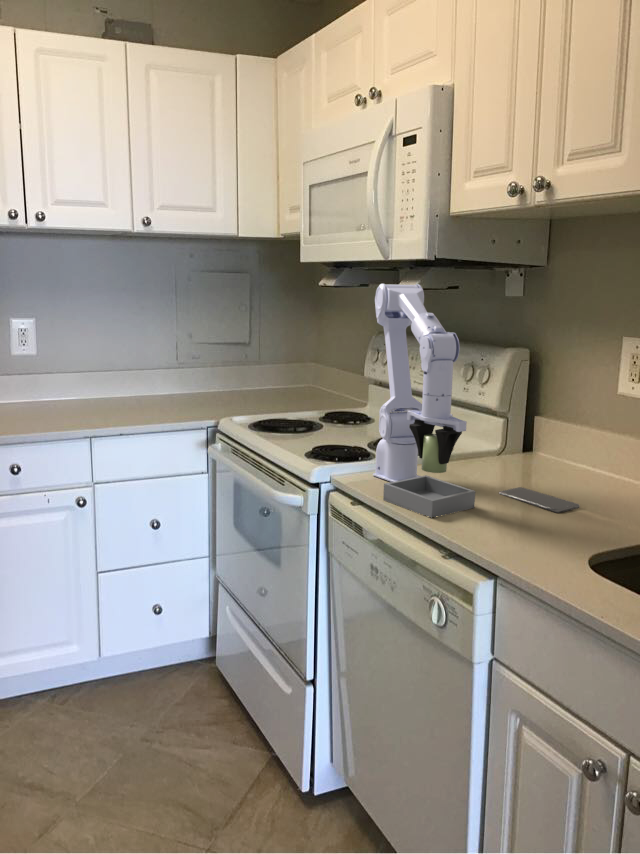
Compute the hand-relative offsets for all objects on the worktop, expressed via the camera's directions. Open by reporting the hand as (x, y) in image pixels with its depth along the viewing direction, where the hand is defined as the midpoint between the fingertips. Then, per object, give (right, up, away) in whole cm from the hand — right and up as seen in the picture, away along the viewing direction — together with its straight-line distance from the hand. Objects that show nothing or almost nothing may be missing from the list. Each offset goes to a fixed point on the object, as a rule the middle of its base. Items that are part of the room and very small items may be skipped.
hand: (433, 460), depth 148 cm
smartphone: (+22, -9, +5) cm, 25 cm away
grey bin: (-1, -9, +1) cm, 9 cm away
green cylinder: (0, -2, 0) cm, 2 cm away
